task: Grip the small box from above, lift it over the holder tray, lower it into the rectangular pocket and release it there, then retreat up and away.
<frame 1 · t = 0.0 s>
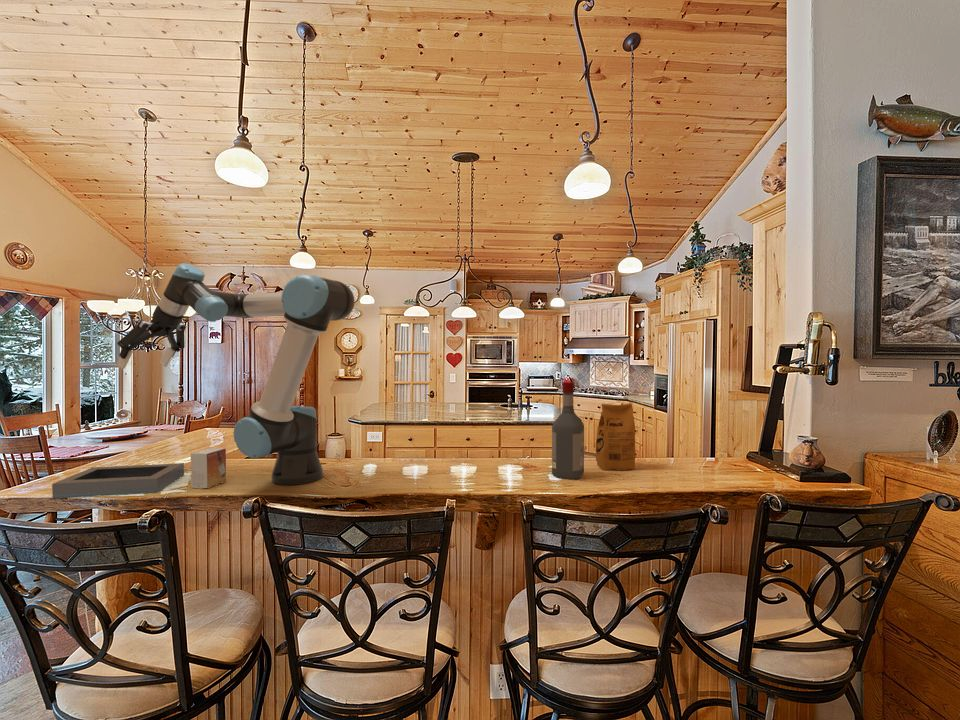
hand: (142, 365, 149), 36 cm above the countertop, tool tilted 35°, fingers open, 13 cm apart
small box: (209, 485, 142), on the countertop
coffee package: (615, 467, 161), on the countertop
liquor: (567, 476, 151), on the countertop
holder tray: (123, 485, 141), on the countertop
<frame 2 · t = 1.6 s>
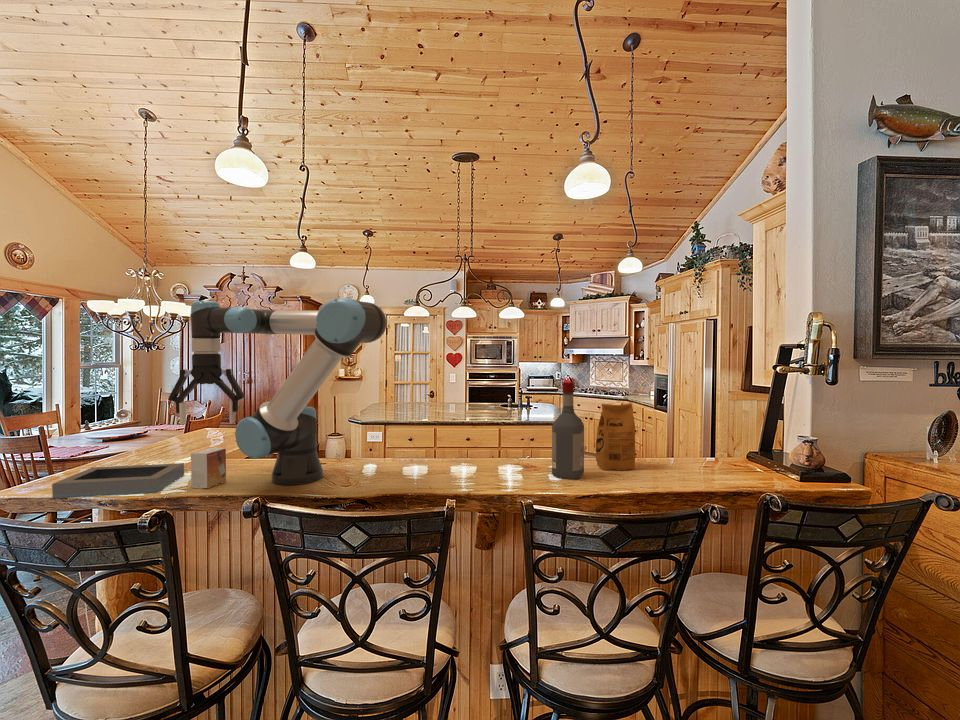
hand: (207, 423, 141), 19 cm above the countertop, tool pointing down, fingers open, 13 cm apart
nothing on the countertop moved.
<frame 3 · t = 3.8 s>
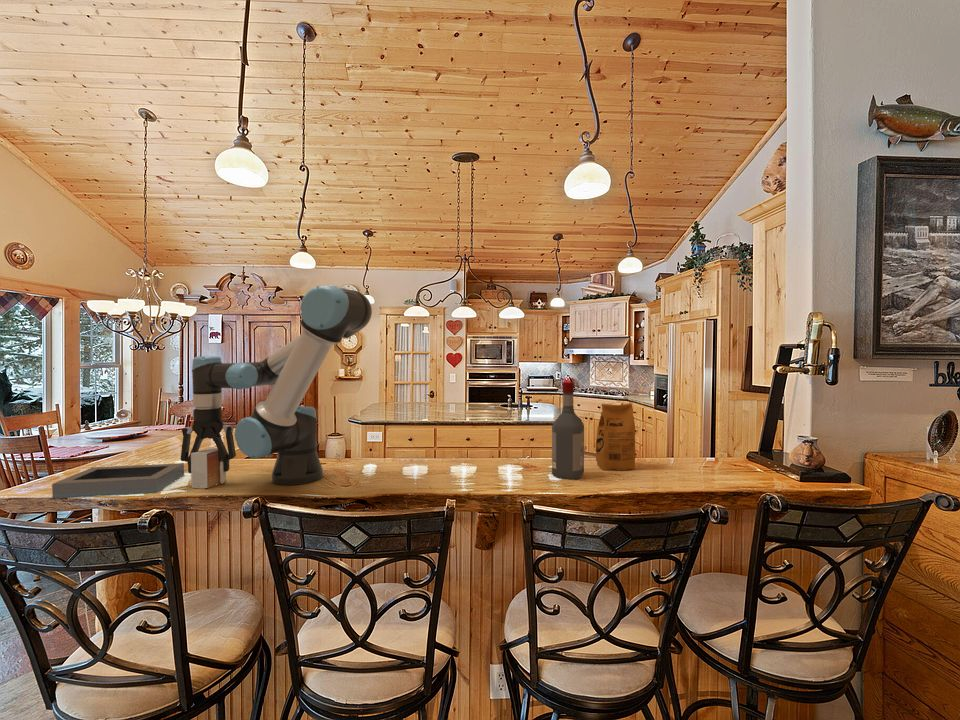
hand: (209, 482, 142), 1 cm above the countertop, tool pointing down, fingers closed on small box, 7 cm apart
small box: (209, 485, 142), on the countertop, touching gripper
everything else where it was.
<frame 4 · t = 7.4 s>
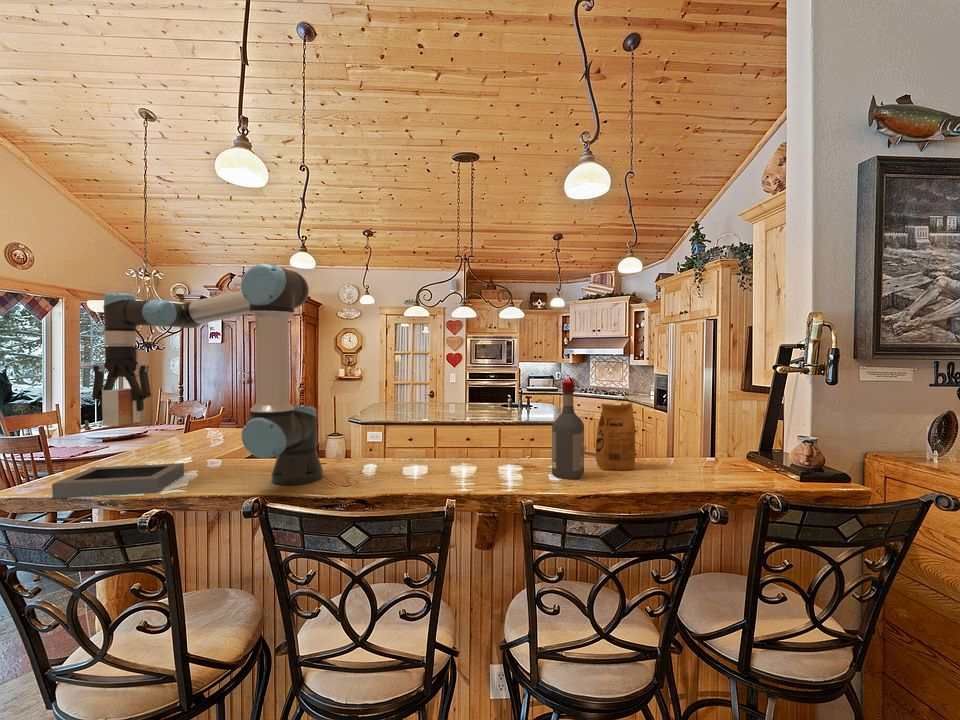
hand: (122, 422, 140), 19 cm above the countertop, tool pointing down, fingers closed on small box, 7 cm apart
small box: (122, 424, 140), point 18 cm above the countertop, touching gripper
everything else where it was.
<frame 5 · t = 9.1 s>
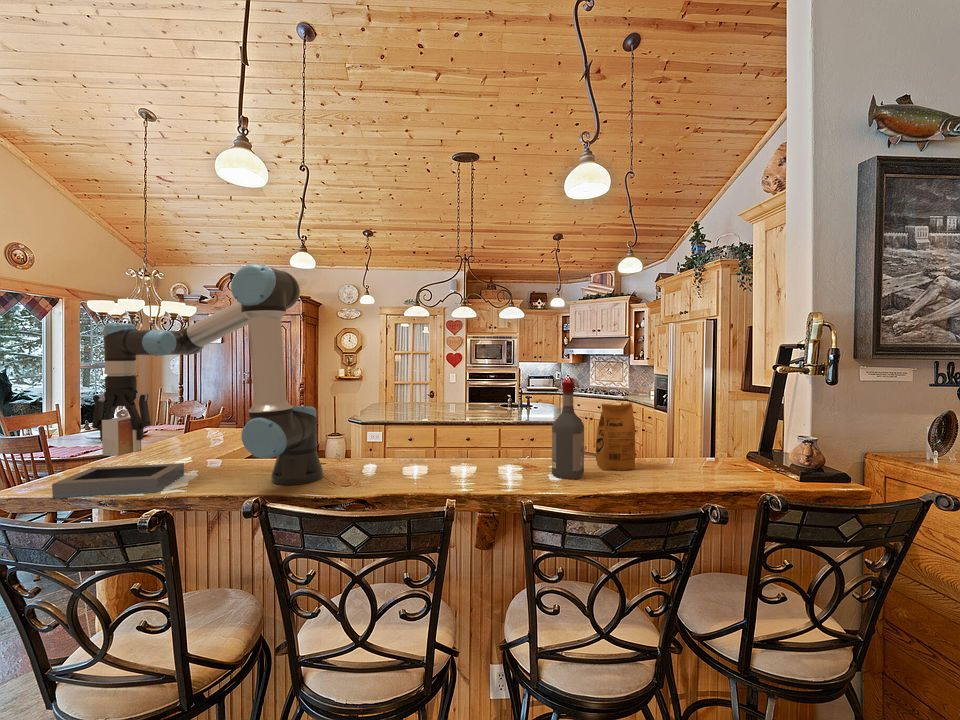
hand: (122, 451, 140), 10 cm above the countertop, tool pointing down, fingers closed on small box, 7 cm apart
small box: (122, 453, 140), point 10 cm above the countertop, touching gripper
everything else where it was.
when the fingers open (3 cm above the countertop, at t = 10.8 s): small box drops 2 cm, resting on holder tray.
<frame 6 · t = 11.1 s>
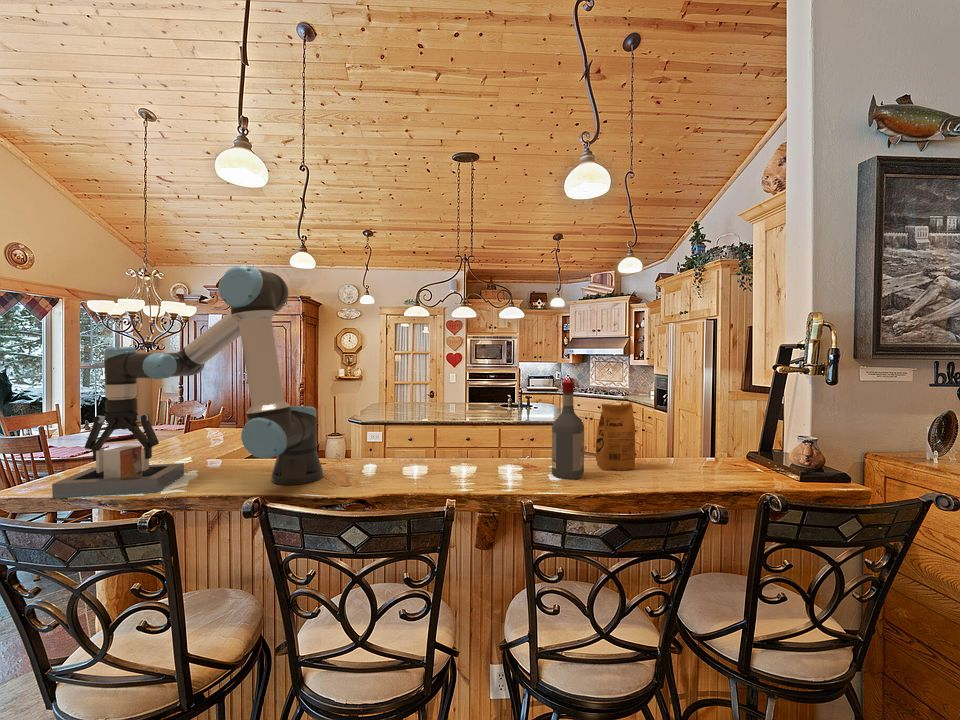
hand: (123, 470, 141), 5 cm above the countertop, tool pointing down, fingers open, 11 cm apart
small box: (123, 483, 141), point 1 cm above the countertop, touching holder tray
everything else where it was.
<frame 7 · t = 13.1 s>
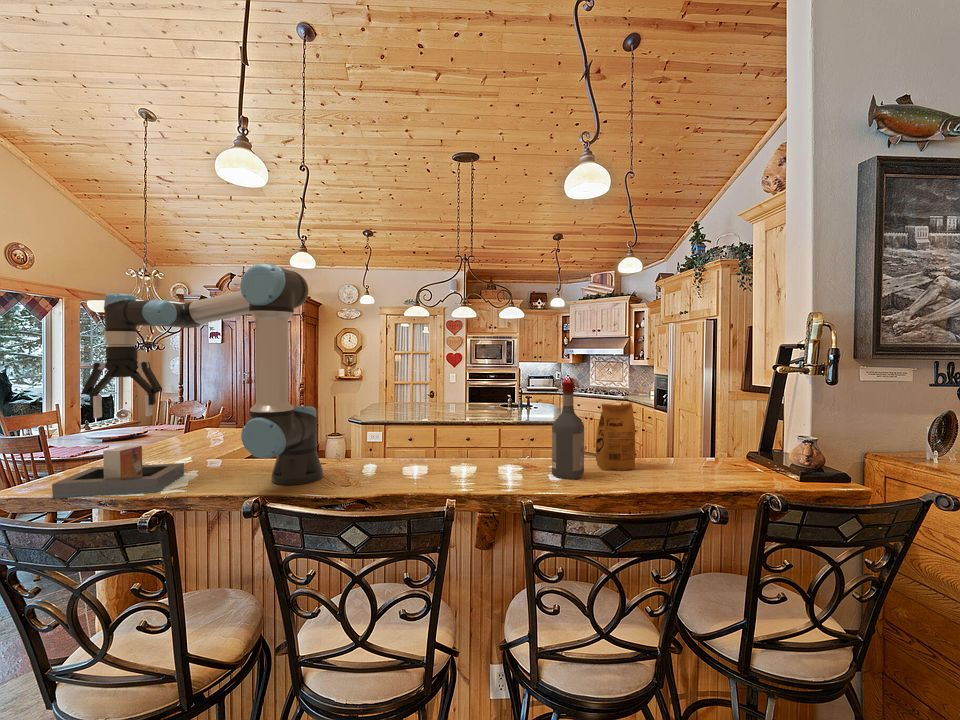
hand: (123, 416, 140), 21 cm above the countertop, tool pointing down, fingers open, 13 cm apart
nothing on the countertop moved.
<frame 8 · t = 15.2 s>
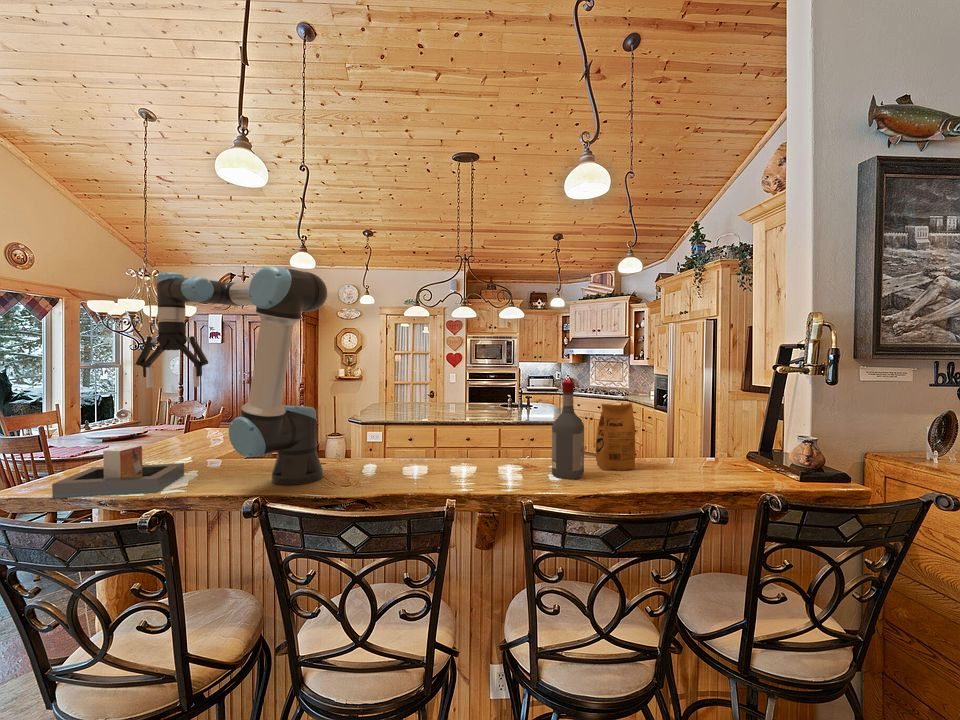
hand: (173, 387, 152), 29 cm above the countertop, tool pointing down, fingers open, 13 cm apart
nothing on the countertop moved.
at the end: small box inside the target area on the holder tray (0.1 cm from its centre), point 0.8 cm above the holder tray's base; small box tilted 0°; the gripper is holding nothing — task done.
